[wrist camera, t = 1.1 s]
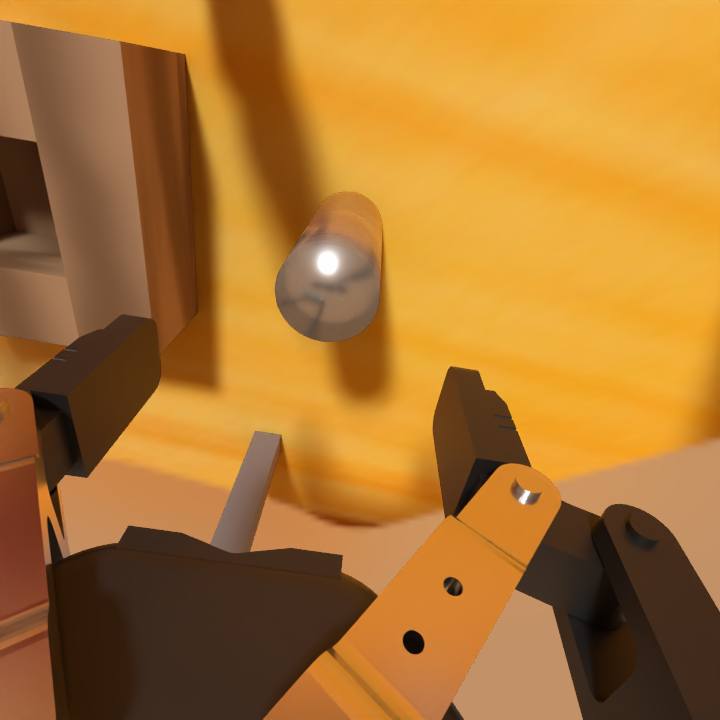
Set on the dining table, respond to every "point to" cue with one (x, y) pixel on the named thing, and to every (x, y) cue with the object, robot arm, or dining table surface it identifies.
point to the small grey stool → (248, 495)
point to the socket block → (92, 186)
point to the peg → (334, 270)
